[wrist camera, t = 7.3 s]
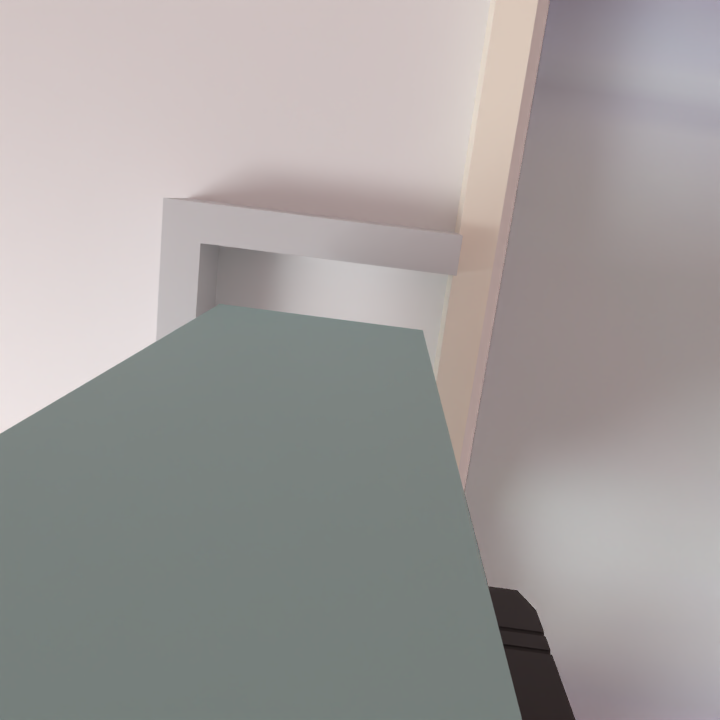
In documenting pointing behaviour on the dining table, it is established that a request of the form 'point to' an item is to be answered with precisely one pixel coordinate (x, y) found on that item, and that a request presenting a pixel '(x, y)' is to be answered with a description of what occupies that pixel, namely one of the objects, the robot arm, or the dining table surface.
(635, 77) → the dining table surface
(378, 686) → the teal carton
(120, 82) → the shelf
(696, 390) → the dining table surface
